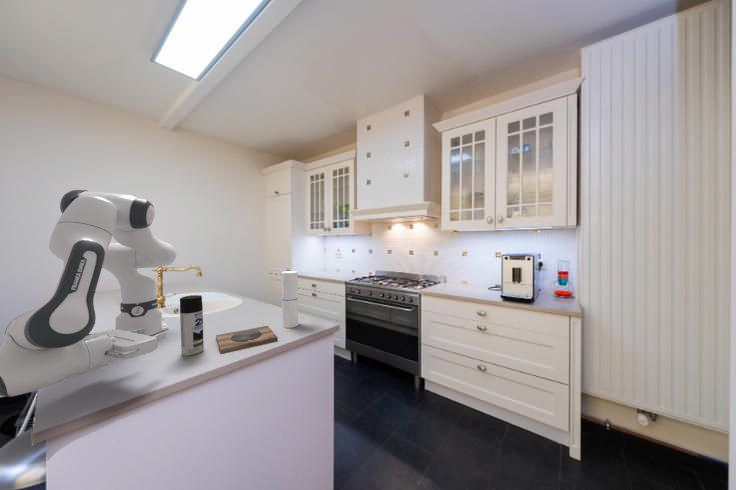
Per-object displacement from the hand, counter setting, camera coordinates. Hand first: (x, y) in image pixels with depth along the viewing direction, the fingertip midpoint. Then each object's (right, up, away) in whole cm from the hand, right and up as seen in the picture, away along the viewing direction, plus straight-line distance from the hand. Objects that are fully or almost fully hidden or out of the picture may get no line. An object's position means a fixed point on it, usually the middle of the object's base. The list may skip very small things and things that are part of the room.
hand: (154, 333), depth 81 cm
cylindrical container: (+31, -10, +40) cm, 51 cm away
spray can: (+4, -11, +12) cm, 17 cm away
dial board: (+18, -11, +23) cm, 31 cm away
